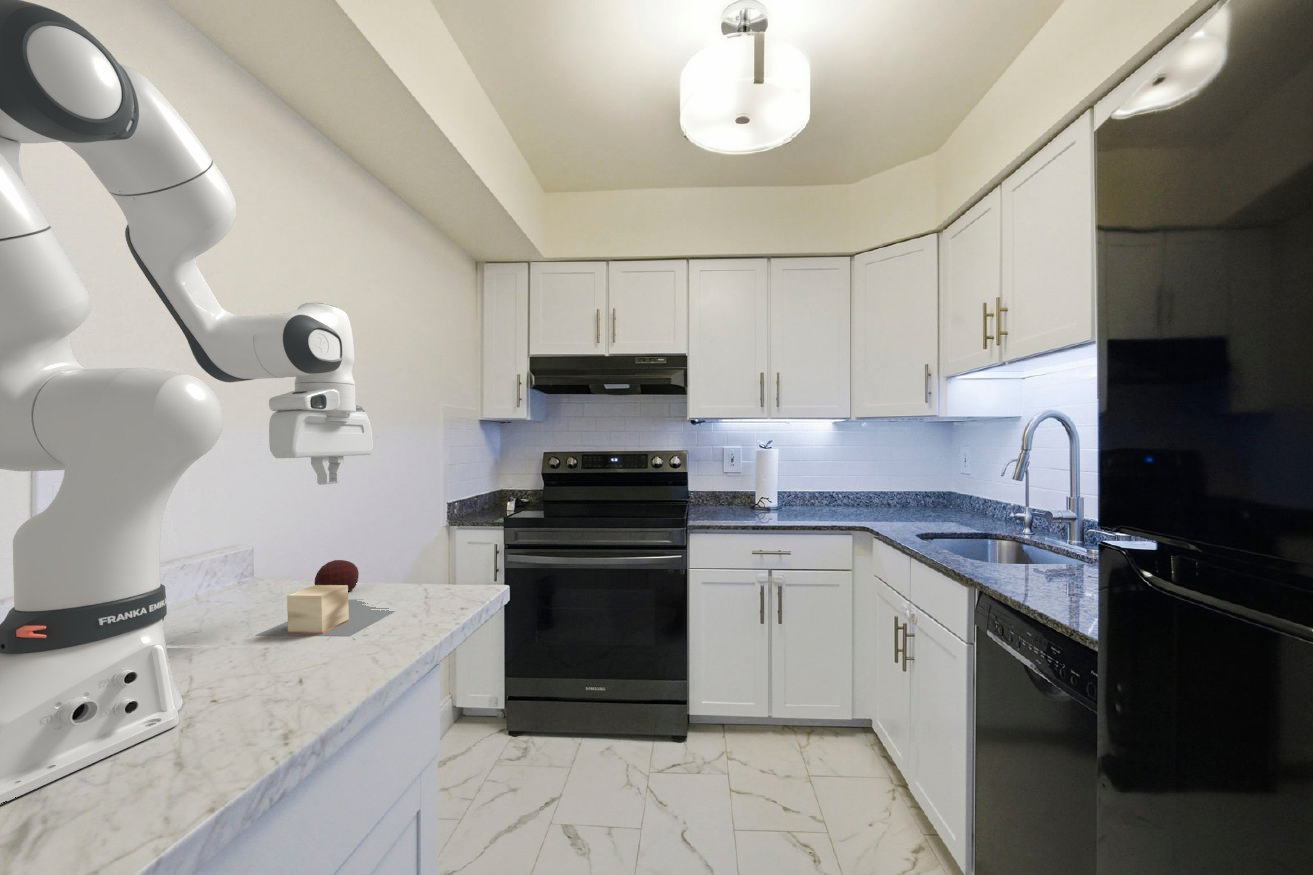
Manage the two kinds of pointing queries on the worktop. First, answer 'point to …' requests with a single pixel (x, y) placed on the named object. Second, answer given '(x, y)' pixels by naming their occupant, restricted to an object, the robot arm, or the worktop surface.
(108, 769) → the worktop surface
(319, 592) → the block
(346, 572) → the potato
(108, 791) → the worktop surface
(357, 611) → the mat
